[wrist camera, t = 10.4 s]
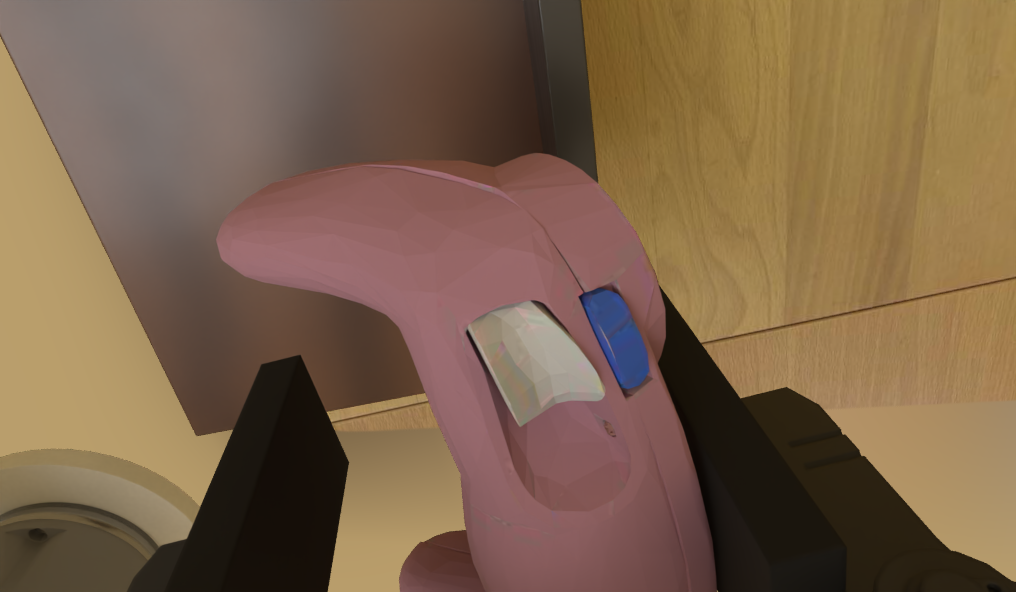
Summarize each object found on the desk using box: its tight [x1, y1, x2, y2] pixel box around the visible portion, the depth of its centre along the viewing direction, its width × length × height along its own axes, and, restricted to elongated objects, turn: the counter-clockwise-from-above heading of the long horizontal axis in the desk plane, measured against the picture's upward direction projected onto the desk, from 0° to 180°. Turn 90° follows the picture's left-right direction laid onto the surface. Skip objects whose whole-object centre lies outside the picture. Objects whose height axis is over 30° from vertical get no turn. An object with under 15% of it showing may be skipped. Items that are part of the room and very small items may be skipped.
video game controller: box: [216, 153, 717, 592], centre depth 10 cm, size 10×5×7 cm, turn 15°
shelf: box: [0, 0, 598, 436], centre depth 18 cm, size 14×18×4 cm
